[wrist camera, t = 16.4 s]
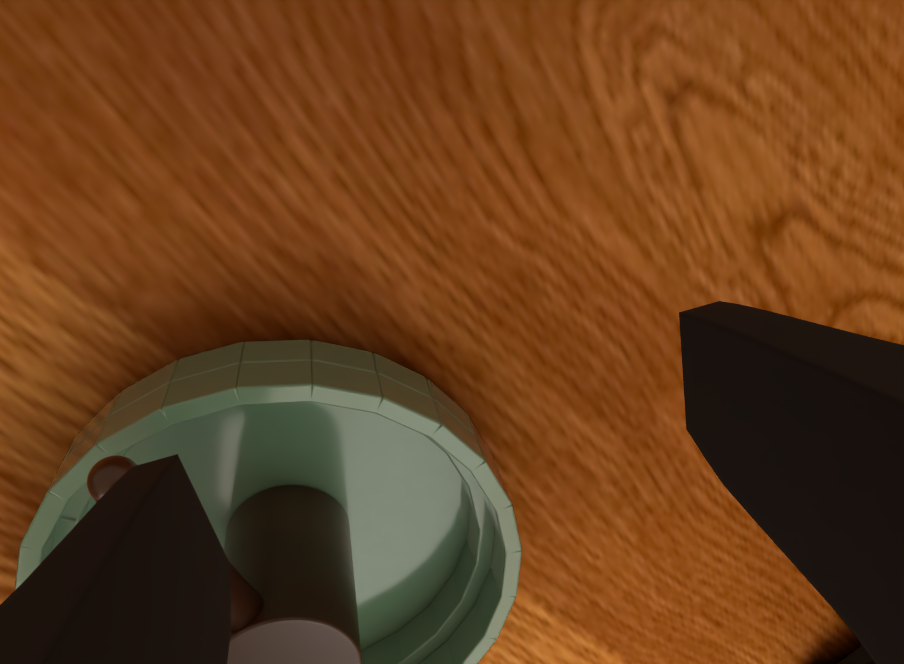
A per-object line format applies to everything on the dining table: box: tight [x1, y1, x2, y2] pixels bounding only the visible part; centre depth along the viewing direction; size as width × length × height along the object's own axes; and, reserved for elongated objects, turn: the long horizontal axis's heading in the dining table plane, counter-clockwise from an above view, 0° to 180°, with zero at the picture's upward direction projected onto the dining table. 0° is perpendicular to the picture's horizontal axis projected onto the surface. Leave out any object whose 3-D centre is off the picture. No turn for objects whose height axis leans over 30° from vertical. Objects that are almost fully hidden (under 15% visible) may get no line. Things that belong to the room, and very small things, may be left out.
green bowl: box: [14, 340, 522, 664], centre depth 20 cm, size 13×13×3 cm
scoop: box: [87, 455, 362, 664], centre depth 18 cm, size 4×9×5 cm, turn 27°
